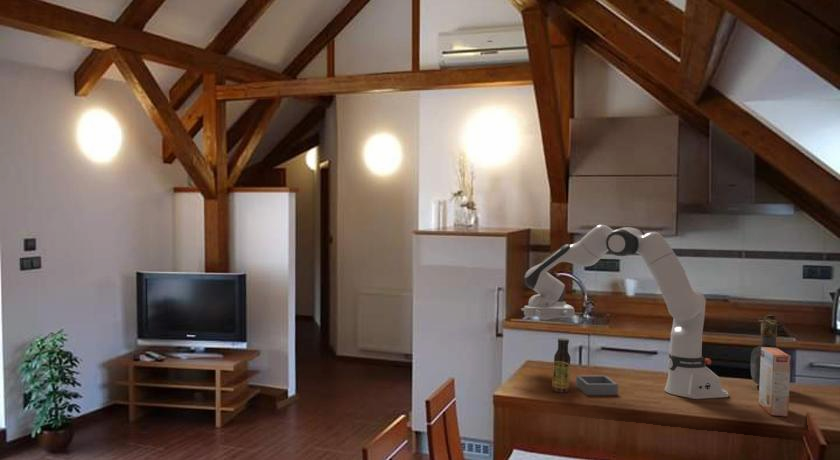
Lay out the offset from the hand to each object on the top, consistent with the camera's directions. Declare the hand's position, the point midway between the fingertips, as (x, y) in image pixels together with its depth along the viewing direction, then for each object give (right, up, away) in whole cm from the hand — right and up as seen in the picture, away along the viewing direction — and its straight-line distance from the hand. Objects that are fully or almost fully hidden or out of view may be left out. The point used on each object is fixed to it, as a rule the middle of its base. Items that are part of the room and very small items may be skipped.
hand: (553, 314), depth 267 cm
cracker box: (+70, -30, -33) cm, 83 cm away
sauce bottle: (0, -28, -12) cm, 30 cm away
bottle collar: (+14, -28, -10) cm, 33 cm away
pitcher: (+82, -29, -4) cm, 87 cm away
